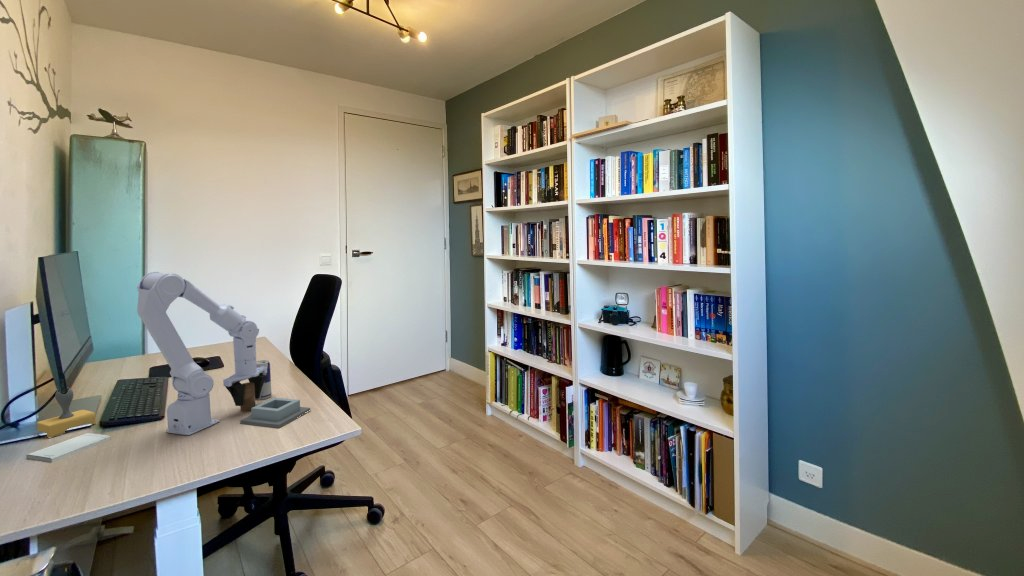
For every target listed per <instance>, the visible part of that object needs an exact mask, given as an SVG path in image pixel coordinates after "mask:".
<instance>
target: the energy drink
mask: <svg viewBox="0 0 1024 576" xmlns="http://www.w3.org/2000/svg"><path fill="white" fill-rule="evenodd" d="M256 364H257V368H258V367H262V366H263V367H267V373H263V375H267V378H266V380H265V382H264V384H263V386H262V390H261V394H260V398H259V399H255V401H261V400H266V399H269V398H270V397H271V396H272V380H271V363H270V360H268V359H267V360H266V359H265V360H256Z"/></svg>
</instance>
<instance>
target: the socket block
mask: <svg viewBox="0 0 1024 576" xmlns="http://www.w3.org/2000/svg"><path fill="white" fill-rule="evenodd" d="M300 401H301V400H300V399H292V398H282V397H273V398H270V399H269V400H266V401H263V402H262V403H260V404H258V405H256V406H255V407H253V408H251V411H250V412H251V413H250V414H251V415H248V416H246V417H244V418H241V419H240V420H239V422H240V423H239V424H241V425H250V426H258V427H259V426H260V427H265V428H266V427H267V428H273V429H275V428H276V429H280V428H282V427H284V426H286V425H287V424H290V423H291V422H293V421H295V420H297V419H298V418H297V417H299V416H300V415H302V414H304V413H305V412H307V411H309V410H310V411H311V407H304V406H301V402H300ZM304 415H305V414H304ZM302 416H303V415H302ZM300 417H301V416H300ZM300 417H299V418H300ZM296 418H297V419H296ZM294 419H295V420H294ZM292 420H293V421H292ZM289 422H290V423H289Z"/></svg>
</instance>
